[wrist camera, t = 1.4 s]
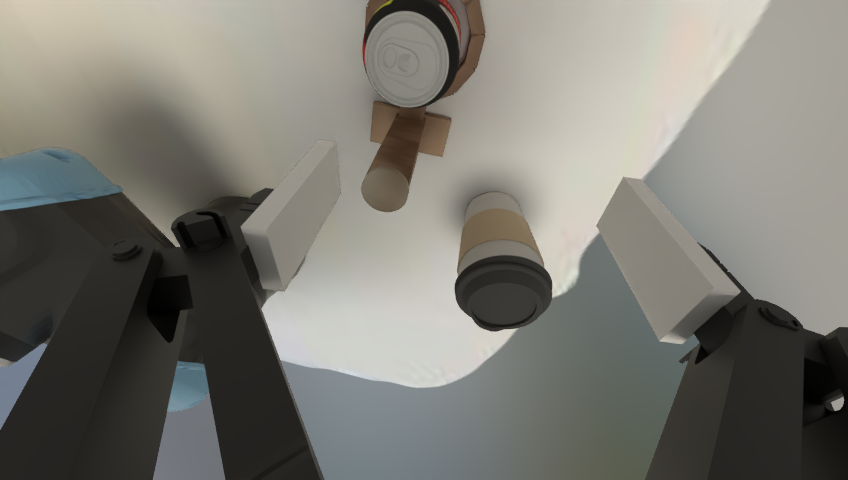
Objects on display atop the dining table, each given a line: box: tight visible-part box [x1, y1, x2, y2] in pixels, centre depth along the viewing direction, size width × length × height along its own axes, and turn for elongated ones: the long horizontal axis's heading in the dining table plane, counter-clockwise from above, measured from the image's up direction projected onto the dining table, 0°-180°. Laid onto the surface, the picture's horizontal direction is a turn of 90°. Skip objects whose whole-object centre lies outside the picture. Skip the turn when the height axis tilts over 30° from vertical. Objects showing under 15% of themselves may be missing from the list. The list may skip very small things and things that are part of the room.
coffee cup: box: [455, 192, 552, 331], centre depth 34 cm, size 9×9×15 cm
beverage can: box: [363, 0, 461, 108], centre depth 23 cm, size 6×6×12 cm
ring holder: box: [361, 0, 485, 212], centre depth 24 cm, size 10×16×15 cm, turn 169°
